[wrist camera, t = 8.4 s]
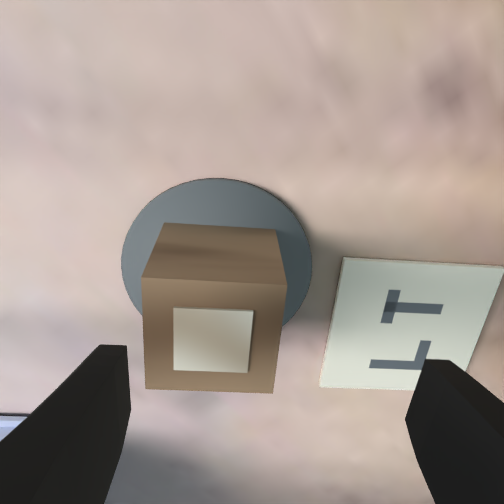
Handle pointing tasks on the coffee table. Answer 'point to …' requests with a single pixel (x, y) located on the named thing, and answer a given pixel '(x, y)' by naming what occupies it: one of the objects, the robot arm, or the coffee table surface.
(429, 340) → the tile
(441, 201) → the coffee table surface
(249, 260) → the walnut block
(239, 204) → the slate coaster
